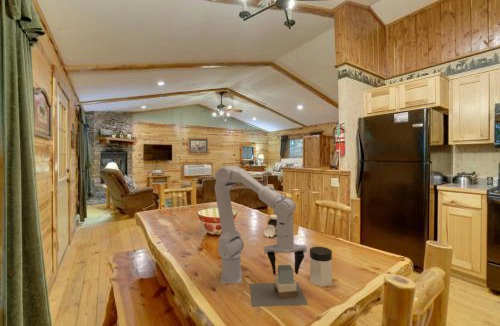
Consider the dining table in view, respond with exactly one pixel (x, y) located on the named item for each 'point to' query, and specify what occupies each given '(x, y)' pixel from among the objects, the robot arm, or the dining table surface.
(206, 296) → the dining table surface
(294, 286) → the cream slab
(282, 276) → the gray cube
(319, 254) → the jar
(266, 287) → the felt mat
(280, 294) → the walnut slab
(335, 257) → the dining table surface
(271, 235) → the spread jar
